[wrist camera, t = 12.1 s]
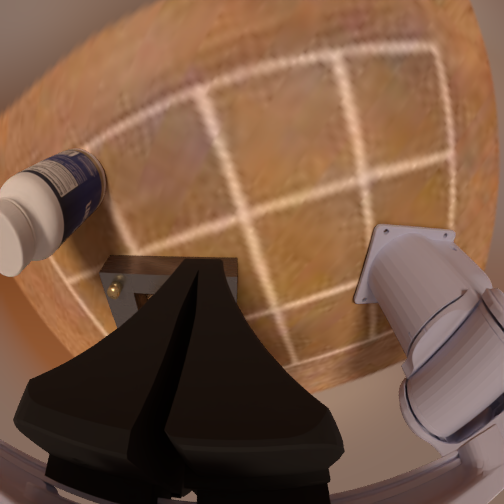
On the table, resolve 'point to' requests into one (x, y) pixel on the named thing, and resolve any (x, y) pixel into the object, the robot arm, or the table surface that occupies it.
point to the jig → (145, 280)
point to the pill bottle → (47, 206)
